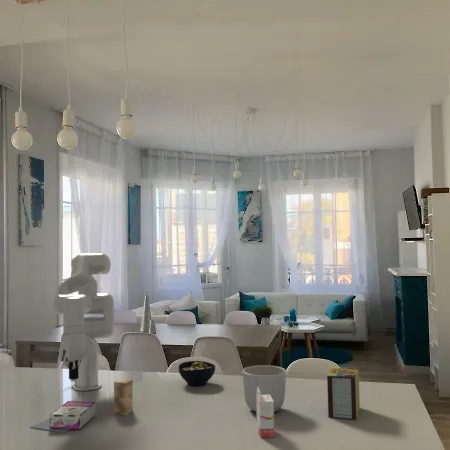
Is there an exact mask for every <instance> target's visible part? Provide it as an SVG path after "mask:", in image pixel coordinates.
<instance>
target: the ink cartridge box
mask: <svg viewBox="0 0 450 450" xmlns="http://www.w3.org/2000/svg"><path fill="white" fill-rule="evenodd" d="M258 392H259V394H258ZM256 430H257V432H258V434H259V436H260V437H259V438H274V437H275V412H274V401H273V399H272V398H271V396H270V395H261V392H260V390H259V388H258V387H257V412H256Z"/></svg>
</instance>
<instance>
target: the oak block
mask: <svg viewBox="0 0 450 450" xmlns="http://www.w3.org/2000/svg"><path fill="white" fill-rule="evenodd" d="M113 391H114V392H113V395H114V396H113V413H114V415H120V414H121V416H127V415H128V414H131V413H132V412H133V380H132V379H127V378H126V379H125V378H121V379H118V380H116V381H113ZM131 411H132V412H131Z"/></svg>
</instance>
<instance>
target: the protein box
mask: <svg viewBox="0 0 450 450" xmlns="http://www.w3.org/2000/svg"><path fill="white" fill-rule="evenodd" d="M359 370H360V368H359V367H354V366H353V367H352V366H351V367H349V366H338V365H337V366H335V365H333V366H331V368H330V369H329V370H328V373H327V374H326V379H327V413H328V414H327V415H328V418H330V419H331V418H332V419H342V420H343V419H345V420H354V421H355V420H356V421H357V420H358V416H359V411H360V408H361V406H360V403H361V402H360V400H361V399H360V377H359V376H360V375H359V374H360V373H359V372H360V371H359Z"/></svg>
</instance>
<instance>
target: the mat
mask: <svg viewBox="0 0 450 450" xmlns="http://www.w3.org/2000/svg"><path fill="white" fill-rule="evenodd" d="M93 419H96V416H93V417H91V418H90V419H89V420H88V421H87V422H89V421H91V420H93ZM29 428H30V429H37V430H43V431H49V432H54V433H60V434H61V433H62V434H65V433H67V432H69V431H71V430H72V429H61V428H50V417H49V418H47V419H44V420H42V421H40V422H38V423H36V424H33V425H32V426H30V427H29Z"/></svg>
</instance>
